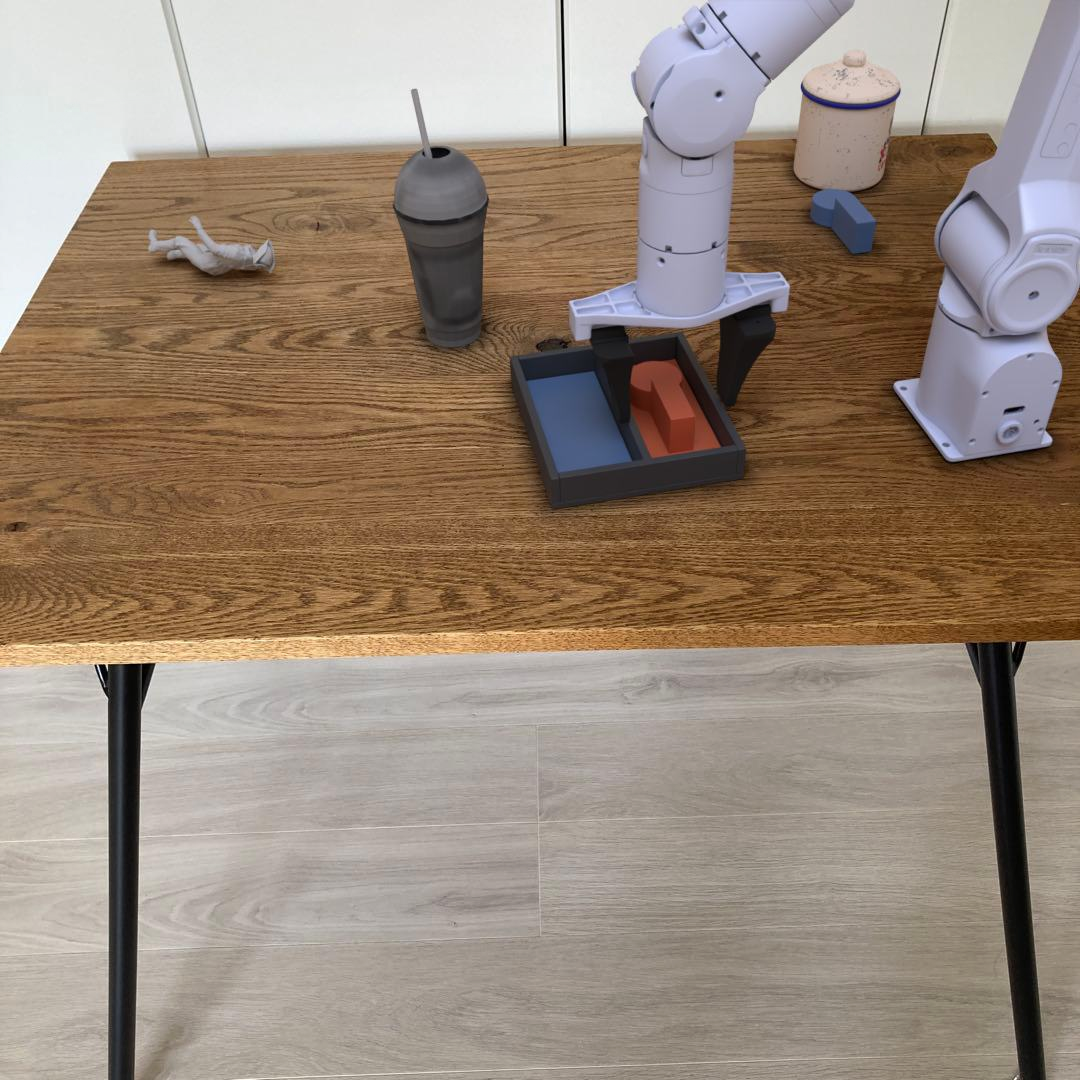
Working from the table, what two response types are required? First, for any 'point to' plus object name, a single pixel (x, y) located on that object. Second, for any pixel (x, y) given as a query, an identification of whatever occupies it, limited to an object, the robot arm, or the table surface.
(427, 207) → the beverage cup
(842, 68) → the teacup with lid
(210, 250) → the soldier figure
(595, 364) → the divided sorting tray
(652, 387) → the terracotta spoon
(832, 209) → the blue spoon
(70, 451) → the table surface
